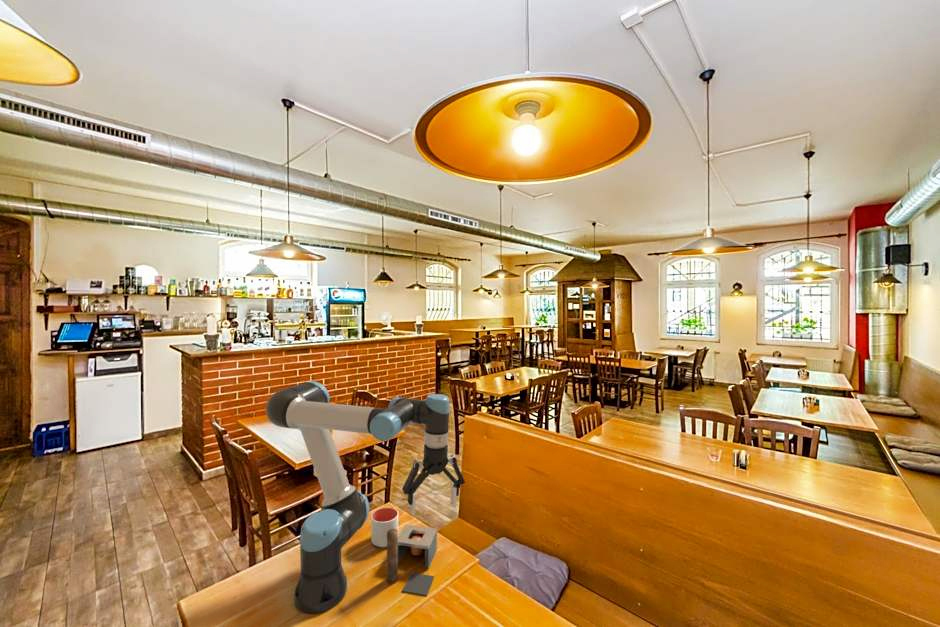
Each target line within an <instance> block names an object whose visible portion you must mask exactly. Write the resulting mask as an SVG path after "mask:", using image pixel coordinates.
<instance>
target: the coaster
mask: <svg viewBox="0 0 940 627" xmlns="http://www.w3.org/2000/svg"><path fill="white" fill-rule="evenodd" d="M434 579H435V575H428V574H424V573H417V572H410V573H409V576H408V578H407V580H406V582H405V584H404V586H403V588H402V590H401V591H402V592H401V593H407V594H414V595H417V596H424V597H427V596H428V594H429V591H430V589H431V586H432V584H433V581H434Z"/></svg>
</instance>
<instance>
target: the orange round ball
mask: <svg viewBox="0 0 940 627" xmlns="http://www.w3.org/2000/svg"><path fill="white" fill-rule="evenodd" d="M411 539H415V540H421V539H422V538H421V537H420V536H414V537H412V538H411ZM422 552H423V550H422V548H416V547H411V549H410V553H411V554H410V555H413V556H419V555H421V554H422Z"/></svg>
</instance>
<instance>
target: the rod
mask: <svg viewBox="0 0 940 627" xmlns="http://www.w3.org/2000/svg"><path fill="white" fill-rule="evenodd" d="M398 536H399V529H398V530H397V529H390V530H388V531H387V547H386V582H387V584H389V585H394V584H396V583H397V582H398V577H399V576H398V574H399V573H398V569H399V568H398V566H399V564H398Z"/></svg>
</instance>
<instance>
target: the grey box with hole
mask: <svg viewBox="0 0 940 627" xmlns="http://www.w3.org/2000/svg"><path fill="white" fill-rule="evenodd" d="M414 536H420V537H421V538H422V539H421V540H415V539H411V538H412V537H414ZM437 536H438V529H437V528H433V527H426V526H418V525H412V524H411V525H410V524H405V525H404V527H403V528H402V529H401V530H400V533H398V565H399V564H400V562H401V560H402V559H403V557H404V555H405V554H406V552H407V550H408V549H410V550H411V547H416V548H422V552H424V569H425V570H429V569H430V567H431V564H432V562H433V559H434V558H435V555H436V553H437V546H438V545H437V542H438V540H437V539H438V537H437Z"/></svg>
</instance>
